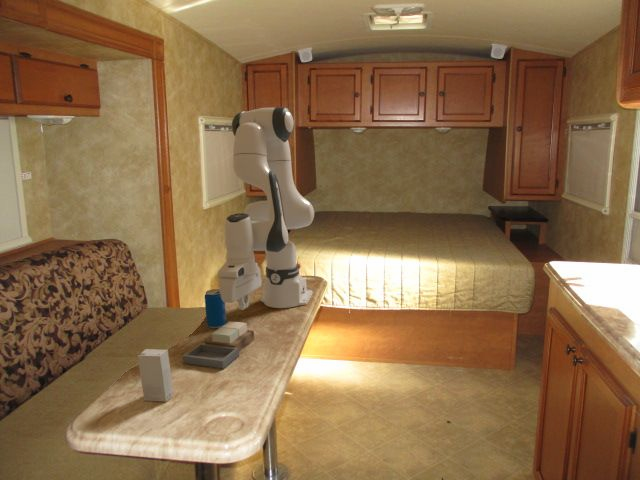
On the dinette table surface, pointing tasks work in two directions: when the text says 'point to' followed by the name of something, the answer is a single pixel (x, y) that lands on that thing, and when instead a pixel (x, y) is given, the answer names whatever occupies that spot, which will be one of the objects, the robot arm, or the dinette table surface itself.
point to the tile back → (236, 327)
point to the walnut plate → (236, 341)
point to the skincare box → (155, 375)
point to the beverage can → (215, 309)
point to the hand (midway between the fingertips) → (243, 308)
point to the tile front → (225, 335)
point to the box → (211, 356)
